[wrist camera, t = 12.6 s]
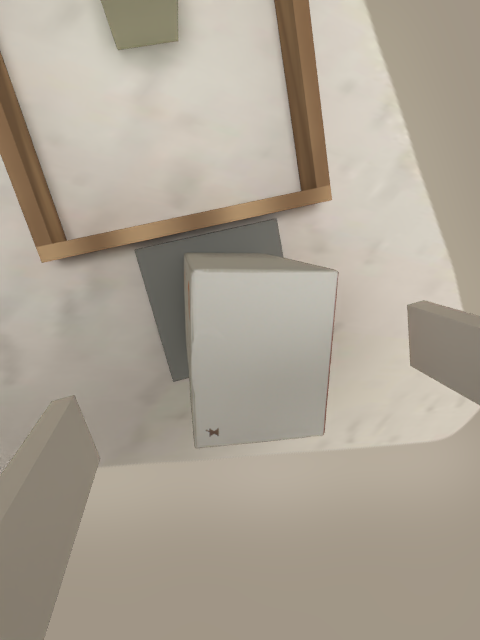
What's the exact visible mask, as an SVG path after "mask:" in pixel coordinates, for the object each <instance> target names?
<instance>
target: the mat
mask: <svg viewBox="0 0 480 640" xmlns="http://www.w3.org/2000/svg"><path fill="white" fill-rule="evenodd" d="M135 253H136V257H137V260H138V263H139V267H140V270H141V274H142V277H143V280H144V284H145V287H146V291H147V294H148V297H149V301H150V304H151V307H152V311H153V314H154V318H155V321H156V324H157V328H158V331H159V335H160V338H161V341H162V345H163V348H164V352H165V355H166V358H167V362H168V365H169V368H170V372H171V375H172V379H173V382H175V381H178V380H182V379H186V378H189V366H188V356H187V347H186V329H185V299H184V254H185V253H263V254H268V255H273V256H278V257H282V258H283V253H282V247H281V241H280V235H279V229H278V223H277V219H272V220H267V221H263V222H258V223H254V224H249V225H245V226H240V227H236V228H231V229H226V230H222V231H217V232H213V233H208V234H204V235H199V236H194V237H190V238H185V239H181V240H176V241H172V242H167V243H162V244H158V245H153V246H149V247H144V248H140V249H135Z"/></svg>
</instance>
